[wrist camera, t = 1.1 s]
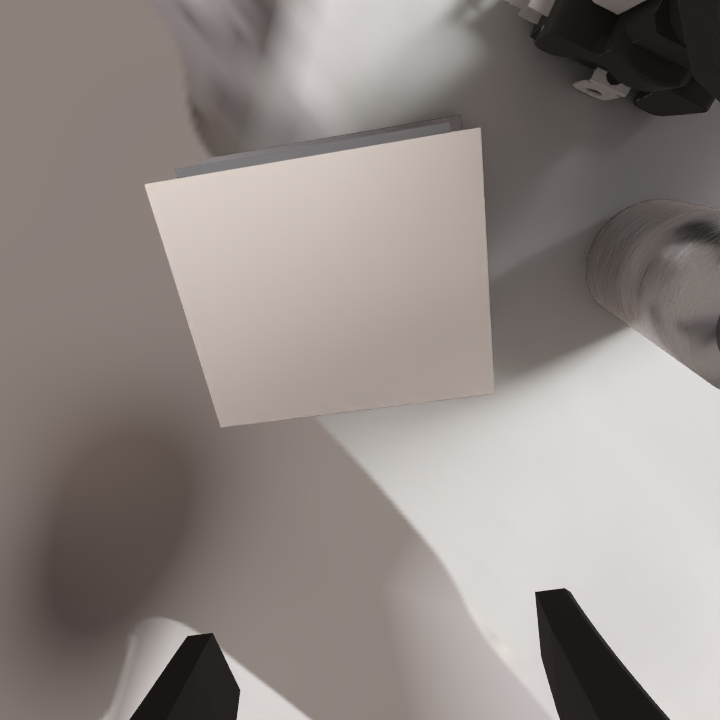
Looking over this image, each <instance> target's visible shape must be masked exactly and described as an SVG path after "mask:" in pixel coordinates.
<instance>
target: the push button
mask: <svg viewBox="0 0 720 720" xmlns="http://www.w3.org/2000/svg"><path fill="white" fill-rule="evenodd" d="M503 1H505V2H507V3H509V4H511V5H513V6H515V7H517V8H519V9H521V10H520V12H519V14H518V16H520V17H522V18H524V19H526V20H528V21H530V22H532V23H534V24H535V26H534V28H533V31H532V33H531V35H530V36H531V38H532V39H534V40H535V42H534V43H535V46H536V47H538V48H539V49H541V50H543V51H545V52H547V53H549V54H552V55H555V56H560V57H568V58H572V59H574V60H576V61H578V62H580V63H582V64H584V65H586V66H588V67H590V68H592V69H594V70H595V71H594V73H593V75H592V76H591V78H590V79H584V80H581V81H577V82H574V83H573V86H574V87H575V88H576V89H578V90H580V91H582V92H584V93H586V94H588V95H590V96H592V97H594V98H596V99H600V100H604V101H606V100H611V99H617V98H620V96H621V97H625V96H626V95H627V94H628V92H629V90H630V88H632V89H635V90H637V91H639V93H638V95H637V96H636V98H635V100H634V102H633V104H634V105H635V106H636V107H638V108H640V109H642V110H644V111H646V112H648V113H650V114H653V115H656V116H671V115H682V114H693V113H703V112H707V111H708V110H709V108H710V106H711V105H712V103H713V101H714V100H715V98H716V99H717V100H718V101H719V102H720V0H503ZM589 88H590V89H589ZM591 89H594V90H596V91H598V92H595V91H593V90H591ZM599 92H600V93H599Z"/></svg>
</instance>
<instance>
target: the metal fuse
mask: <svg viewBox="0 0 720 720" xmlns="http://www.w3.org/2000/svg"><path fill="white" fill-rule="evenodd" d="M586 277H587V283H588V286H589V289H590V291H591V293H592V295H593V297H594V298H595V299H596V301H597V302H598V303H599V304H600V305H601V306H603V307H604V308H605V309H607V310H608V311H610V312H611V313H612V314H614V315H615V316H617V317H618V318H619V319H621V320H622V321H624V322H625V323H626V324H628V325H629V326H631V327H632V328H633V329H635V330H636V331H637V332H639V333H640V334H642V335H643V336H644V337H646V338H647V339H649V340H650V341H651V342H653V343H654V344H656V345H657V346H658V347H660V348H661V349H663V350H664V351H665V352H667V353H668V354H670V355H671V356H672V357H674V358H675V359H677V360H678V361H679V362H681V363H682V364H684V365H685V366H686V367H688V368H689V369H691V370H692V371H693V372H695V373H696V374H698V375H699V376H700V377H702V378H703V379H705V380H706V381H707V382H709V383H710V384H712V385H713V386H715V387H716V388H718V389H720V209H715V208H710V207H705V206H699V205H694V204H689V203H684V202H679V201H674V200H668V199H655V200H648V201H644V202H640V203H638V204H635V205H633V206H631V207H628V208H626V209H625V210H623V211H622V212H620V213H619V214H617V215H616V216H615V217H613V218H612V219H611V220H610V221H609V222H608V223H607V224H606V225H605V226H604V227H603V229H602V230H601V231H600V232H599V234H598V235H597V237H596V239H595V240H594V242H593V244H592V246H591V249H590V252H589V255H588V259H587V266H586Z"/></svg>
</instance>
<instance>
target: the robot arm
mask: <svg viewBox="0 0 720 720" xmlns="http://www.w3.org/2000/svg"><path fill="white" fill-rule="evenodd" d="M535 596H536V606H537V617H538V628H539V638H540V649H541V657H542V661H543V664H544V668H545V671H546V675H547V678H548V682H549V685H550V689H551V692H552V695H553V699H554V702H555V706H556V709H557V712H558V715H559V718H560V720H670V719H669V718H668V717H667V716H666V714H665V713H664V712H663V711H662V710H661V709H660V708H659V706H658V705H657V704H656V703H655V702H654V701H653V699H652V698H651V697H650V696H649V695H648V693H647V692H646V691H645V690H644V689H643V687H642V686H641V685H640V684H639V683H638V682H637V680H636V679H635V678H634V677H633V676H632V674H631V673H630V672H629V671H628V670H627V668H626V667H625V666H624V665H623V663H622V662H621V661H620V660H619V658H618V657H617V656H616V655H615V653H614V652H613V651H612V649H611V648H610V647H609V646H608V644H607V643H606V642H605V640H604V639H603V638H602V636H601V635H600V634H599V632H598V631H597V630H596V628H595V627H594V626H593V624H592V623H591V622H590V620H589V619H588V617H587V616H586V615H585V613H584V612H583V610H582V609H581V607H580V606H579V604H578V603H577V601H576V600H575V598H574V597H573V595H572V594H571V592H570V591H568V590H567V589H565V588H563V589H555V590H547V591H539V592H535ZM239 696H240V689H239V687H238V685H237V683H236V681H235V678H234V676H233V674H232V672H231V670H230V668H229V666H228V664H227V662H226V660H225V658H224V656H223V653H222V651H221V649H220V647H219V645H218V643H217V641H216V639H215V637H214V635H213V633H209V634H201V635H193V636H187V638H186V639H185V640H184V642H183V643H182V645H181V646H180V647H179V649H178V650H177V652H176V653H175V655H174V656H173V658H172V659H171V660H170V662H169V663H168V665H167V666H166V668H165V669H164V671H163V672H162V674H161V675H160V677H159V678H158V679H157V681H156V682H155V684H154V685H153V687H152V688H151V690H150V691H149V693H148V694H147V695H146V697H145V698H144V700H143V701H142V703H141V704H140V706H139V707H138V708H137V710H136V711H135V713H134V714H133V715H132V717H131V718H130V720H236V719H237V711H238V703H239Z"/></svg>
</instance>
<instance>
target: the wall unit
mask: <svg viewBox="0 0 720 720" xmlns="http://www.w3.org/2000/svg"><path fill="white" fill-rule="evenodd" d="M200 164H201V165H196V166H190V167H184V168H178V169H175V172H176V175H177V179H172V180H166V181H161V182H155V183H150V184H145V188H146V191H147V195H148V198H149V201H150V204H151V207H152V210H153V214H154V217H155V220H156V223H157V227H158V230H159V233H160V236H161V239H162V242H163V245H164V249H165V252H166V255H167V258H168V261H169V265H170V268H171V271H172V274H173V277H174V281H175V284H176V287H177V290H178V293H179V297H180V300H181V303H182V306H183V309H184V313H185V316H186V319H187V322H188V325H189V328H190V332H191V335H192V338H193V341H194V344H195V347H196V351H197V354H198V357H199V360H200V363H201V367H202V370H203V373H204V376H205V379H206V383H207V386H208V389H209V392H210V395H211V399H212V402H213V405H214V408H215V411H216V415H217V418H218V421H219V424H220V427H228V426H237V425H245V424H253V423H261V422H269V421H278V420H286V419H293V418H302V417H310V416H318V415H326V414H334V413H342V412H350V411H359V410H367V409H375V408H383V407H391V406H399V405H407V404H415V403H423V402H431V401H440V400H448V399H456V398H464V397H472V396H480V395H488V394H494V375H493V356H492V336H491V317H490V298H489V278H488V259H487V239H486V220H485V200H484V181H483V161H482V142H481V127H480V128H473V129H466V130H461V116H460V115H457V116H451V117H445V118H439V119H434V120H428V121H422V122H416V123H410V124H405V125H399V126H393V127H387V128H381V129H376V130H370V131H364V132H358V133H352V134H347V135H341V136H335V137H329V138H323V139H318V140H312V141H306V142H300V143H294V144H289V145H283V146H277V147H271V148H265V149H260V150H254V151H248V152H242V153H236V154H231V155H225V156H219V157H213V158H207V159H202V160H200Z"/></svg>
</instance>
